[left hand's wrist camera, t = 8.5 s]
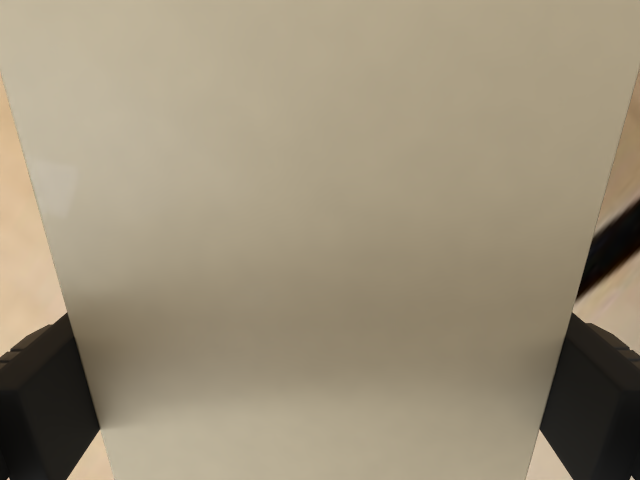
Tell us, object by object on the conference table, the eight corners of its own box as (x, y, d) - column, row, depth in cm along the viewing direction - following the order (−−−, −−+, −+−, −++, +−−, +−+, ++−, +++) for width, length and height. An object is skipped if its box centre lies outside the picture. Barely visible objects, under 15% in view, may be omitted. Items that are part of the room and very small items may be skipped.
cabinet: (172, -135, 14) (-240, -772, 4) (466, -136, 14) (877, -773, 4) (219, 295, 20) (118, 499, 10) (420, 295, 20) (521, 499, 10)
